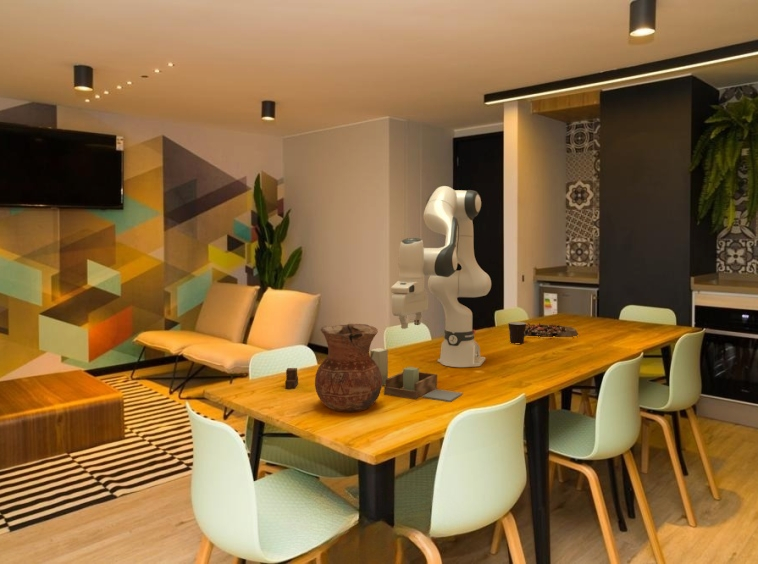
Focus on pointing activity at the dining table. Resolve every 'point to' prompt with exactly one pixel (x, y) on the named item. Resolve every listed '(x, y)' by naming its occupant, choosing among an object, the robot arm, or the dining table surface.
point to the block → (410, 377)
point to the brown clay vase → (348, 369)
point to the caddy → (421, 387)
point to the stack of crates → (291, 378)
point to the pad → (442, 395)
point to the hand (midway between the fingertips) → (411, 326)
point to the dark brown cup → (517, 332)
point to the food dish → (549, 331)
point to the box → (381, 362)
